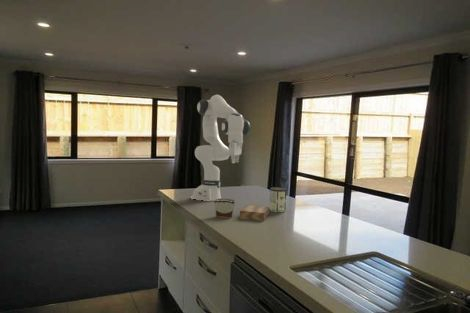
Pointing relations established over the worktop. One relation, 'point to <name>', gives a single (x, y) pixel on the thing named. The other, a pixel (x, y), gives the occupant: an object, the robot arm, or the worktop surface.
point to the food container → (224, 207)
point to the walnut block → (254, 212)
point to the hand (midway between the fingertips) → (235, 162)
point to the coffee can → (278, 199)
